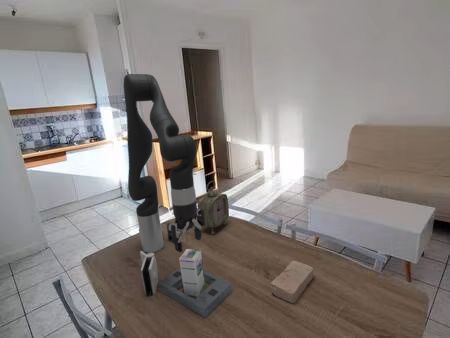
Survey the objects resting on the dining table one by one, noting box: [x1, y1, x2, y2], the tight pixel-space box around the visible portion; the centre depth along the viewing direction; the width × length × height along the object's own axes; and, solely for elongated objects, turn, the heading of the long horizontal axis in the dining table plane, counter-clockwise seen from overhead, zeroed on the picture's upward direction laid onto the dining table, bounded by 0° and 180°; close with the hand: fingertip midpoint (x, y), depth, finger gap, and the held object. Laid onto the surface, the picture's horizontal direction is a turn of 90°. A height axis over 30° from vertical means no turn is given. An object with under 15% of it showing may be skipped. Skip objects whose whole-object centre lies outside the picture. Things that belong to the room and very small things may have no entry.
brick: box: [270, 260, 314, 304], centre depth 92 cm, size 17×8×5 cm, turn 140°
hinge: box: [139, 250, 159, 297], centre depth 98 cm, size 14×5×10 cm, turn 18°
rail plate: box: [157, 266, 233, 318], centre depth 93 cm, size 22×14×3 cm, turn 52°
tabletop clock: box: [197, 180, 230, 235], centre depth 133 cm, size 14×9×25 cm, turn 147°
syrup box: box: [178, 248, 206, 297], centre depth 92 cm, size 6×6×14 cm
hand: (189, 245), depth 89 cm, fingers open, 8 cm apart
